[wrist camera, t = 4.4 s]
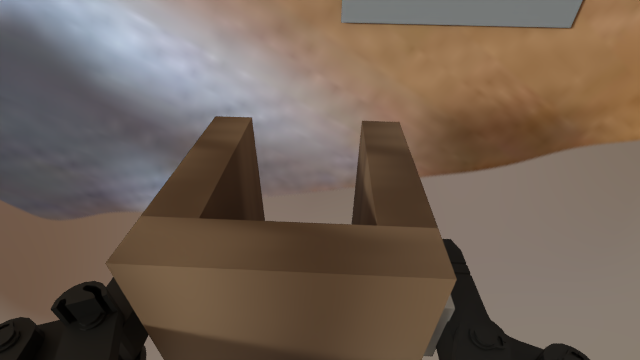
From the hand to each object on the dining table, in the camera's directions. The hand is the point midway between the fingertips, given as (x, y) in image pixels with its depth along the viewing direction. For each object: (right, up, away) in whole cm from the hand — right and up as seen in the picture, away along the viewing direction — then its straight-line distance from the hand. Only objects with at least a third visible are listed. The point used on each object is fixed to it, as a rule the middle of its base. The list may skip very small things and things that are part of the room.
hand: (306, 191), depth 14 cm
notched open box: (0, 0, 0) cm, 0 cm away
